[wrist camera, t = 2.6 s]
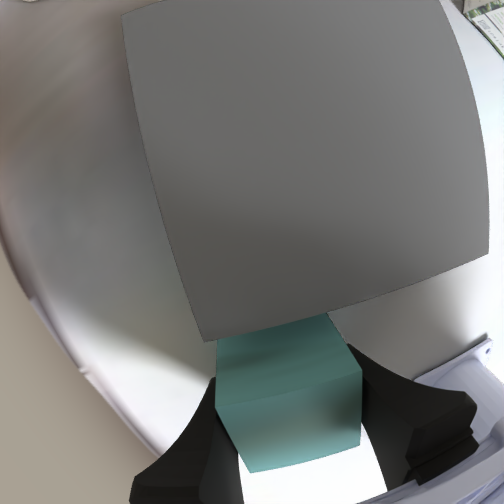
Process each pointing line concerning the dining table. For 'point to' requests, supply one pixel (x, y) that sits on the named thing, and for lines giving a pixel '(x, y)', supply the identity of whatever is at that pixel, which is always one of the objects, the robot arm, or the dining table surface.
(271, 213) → the gray square slab
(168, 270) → the dining table surface
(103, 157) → the dining table surface
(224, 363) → the teal cube
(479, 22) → the syrup box
